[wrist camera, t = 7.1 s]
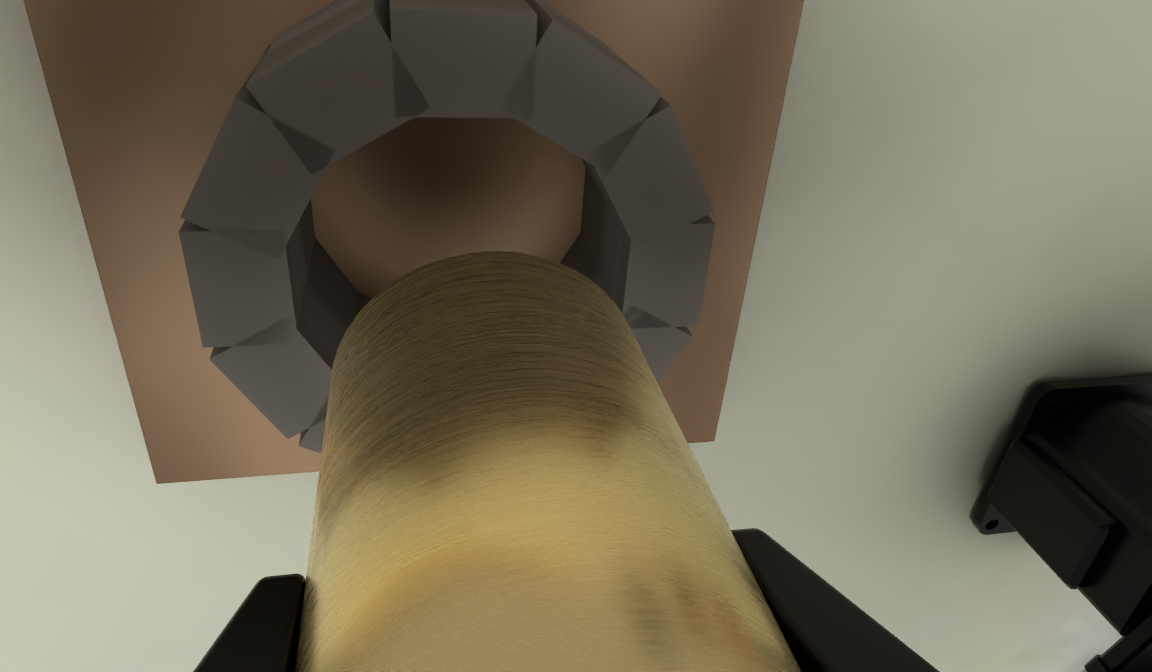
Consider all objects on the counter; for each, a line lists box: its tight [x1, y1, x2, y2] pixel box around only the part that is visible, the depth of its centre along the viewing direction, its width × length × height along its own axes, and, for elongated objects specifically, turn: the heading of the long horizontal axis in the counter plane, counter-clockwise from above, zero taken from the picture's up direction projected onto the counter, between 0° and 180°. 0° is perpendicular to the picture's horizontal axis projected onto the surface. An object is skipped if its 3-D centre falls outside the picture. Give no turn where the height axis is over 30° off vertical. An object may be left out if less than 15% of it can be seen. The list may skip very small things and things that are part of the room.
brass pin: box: [295, 251, 801, 672], centre depth 7 cm, size 4×4×9 cm
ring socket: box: [24, 0, 804, 484], centre depth 16 cm, size 15×15×5 cm
